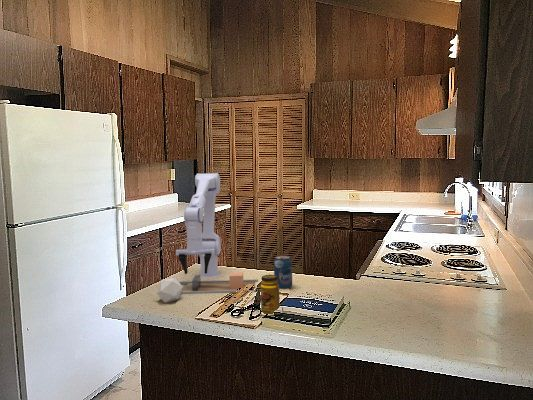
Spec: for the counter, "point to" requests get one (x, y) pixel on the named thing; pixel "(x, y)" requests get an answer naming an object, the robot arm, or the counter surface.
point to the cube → (236, 280)
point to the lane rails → (213, 291)
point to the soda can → (283, 271)
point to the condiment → (269, 294)
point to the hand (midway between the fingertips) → (196, 273)
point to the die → (169, 290)
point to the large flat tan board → (211, 285)
